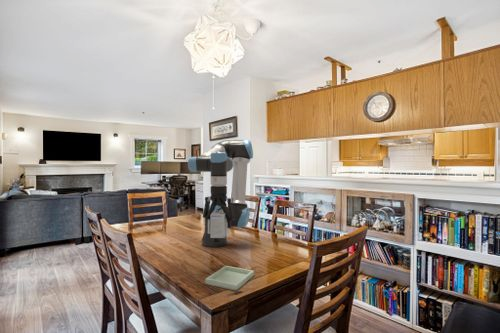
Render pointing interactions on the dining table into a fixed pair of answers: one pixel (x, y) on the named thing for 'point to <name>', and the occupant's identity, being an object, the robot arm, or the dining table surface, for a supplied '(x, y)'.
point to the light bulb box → (217, 224)
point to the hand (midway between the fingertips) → (218, 234)
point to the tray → (230, 277)
